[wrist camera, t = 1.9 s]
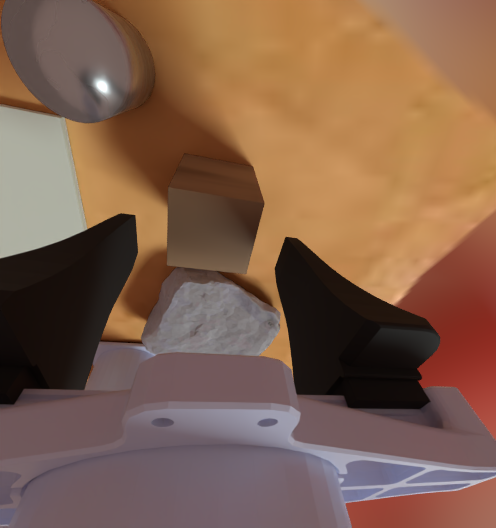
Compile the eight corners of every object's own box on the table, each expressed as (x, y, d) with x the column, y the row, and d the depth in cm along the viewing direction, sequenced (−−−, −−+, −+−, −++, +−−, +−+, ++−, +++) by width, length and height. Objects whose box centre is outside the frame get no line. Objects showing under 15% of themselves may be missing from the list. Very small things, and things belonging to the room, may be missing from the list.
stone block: (176, 243, 22) (140, 326, 26) (174, 270, 18) (131, 364, 21) (283, 284, 27) (241, 349, 30) (301, 312, 23) (249, 384, 26)
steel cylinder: (155, 116, 15) (130, 132, 11) (80, 100, 14) (23, 111, 10) (154, 24, 12) (121, 0, 8) (64, -1, 12) (-20, -40, 8)
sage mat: (105, 321, 25) (103, 325, 24) (-12, 313, 23) (-16, 318, 22) (64, 116, 14) (59, 118, 14) (-160, 71, 12) (-172, 71, 12)
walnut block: (240, 225, 19) (245, 274, 15) (181, 216, 19) (167, 265, 14) (252, 166, 17) (264, 203, 12) (184, 153, 16) (168, 187, 11)
